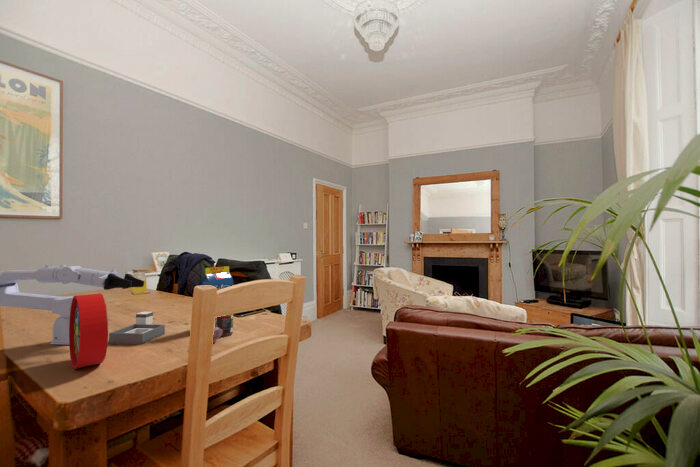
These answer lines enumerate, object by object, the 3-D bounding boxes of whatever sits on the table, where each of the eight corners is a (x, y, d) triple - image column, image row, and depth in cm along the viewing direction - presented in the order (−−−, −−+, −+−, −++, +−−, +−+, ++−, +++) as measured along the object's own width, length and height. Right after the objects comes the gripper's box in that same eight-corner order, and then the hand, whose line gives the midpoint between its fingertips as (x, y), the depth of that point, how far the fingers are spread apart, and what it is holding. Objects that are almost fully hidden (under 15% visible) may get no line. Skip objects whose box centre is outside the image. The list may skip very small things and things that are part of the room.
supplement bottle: (236, 333, 120) (236, 304, 120) (222, 337, 115) (223, 307, 115) (226, 331, 123) (227, 302, 123) (212, 335, 118) (213, 305, 118)
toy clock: (67, 358, 93) (70, 291, 94) (92, 353, 98) (95, 289, 98) (78, 378, 80) (81, 300, 81) (106, 371, 84) (109, 297, 85)
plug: (135, 331, 121) (135, 313, 122) (142, 328, 126) (143, 311, 126) (145, 332, 121) (146, 314, 121) (152, 329, 125) (153, 311, 126)
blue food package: (198, 329, 125) (200, 267, 126) (222, 322, 136) (224, 265, 137) (209, 331, 123) (210, 268, 123) (233, 324, 133) (234, 266, 134)
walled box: (108, 343, 107) (109, 333, 108) (134, 333, 119) (134, 324, 120) (142, 344, 107) (142, 333, 107) (164, 333, 119) (164, 324, 119)
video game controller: (200, 354, 102) (209, 336, 102) (190, 347, 103) (199, 329, 102) (219, 345, 112) (227, 328, 111) (209, 338, 113) (217, 321, 112)
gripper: (86, 266, 104) (128, 272, 105) (114, 267, 118) (151, 273, 119) (79, 287, 103) (122, 293, 104) (109, 286, 117) (146, 292, 118)
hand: (137, 284), depth 111 cm, fingers open, 7 cm apart
